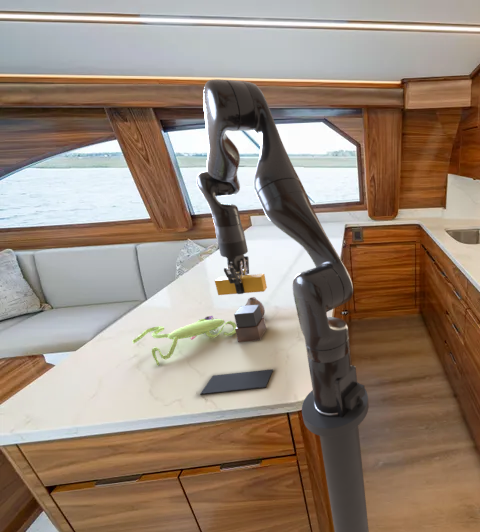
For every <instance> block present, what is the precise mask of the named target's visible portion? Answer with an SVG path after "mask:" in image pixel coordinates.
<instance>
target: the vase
mask: <svg viewBox="0 0 480 532" xmlns="http://www.w3.org/2000/svg"><path fill="white" fill-rule="evenodd" d="M248 305H259V306H260V311H261V316H262V317H264V316H265V306H264V304H263V303H262V302H261V301H260V300H259V299H257V298H256V297H255V296H251V297H248V298H247V301H246V303H245V305H244V306H248Z"/></svg>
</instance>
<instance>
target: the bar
mask: <svg viewBox="0 0 480 532" xmlns="http://www.w3.org/2000/svg"><path fill="white" fill-rule="evenodd" d="M238 278H239V276H238ZM266 280H267V279H266V275H265V273H257V274H247V275H242V282H243V287H244V291H245V292H244V293H243V294H250V293H262V292H263V293H264V292H265V291H266V290H267V288H268V286H267V281H266ZM214 285H215V288H216V292H217V295H218V296H226V295H238V294H237V292H236V288H235V284H234V283H232V284H230V282H229V280H228V278H227V276H219V277H217V278H216V279H214Z"/></svg>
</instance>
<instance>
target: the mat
mask: <svg viewBox="0 0 480 532" xmlns="http://www.w3.org/2000/svg"><path fill="white" fill-rule="evenodd" d="M273 372H274V369H273V368H271V369H261V370H253V371H241V372H231V373H224V374H213V375H212V376H211V377H210V379H209V381H208V382H207V383H206V385H205V386H204V388H203V389H202V390H201V392H200V393H199V394H200V396H203V395H213V394H220V393H221V394H222V393H230V392H239V391H247V390H248V391H250V390H257V389H265V388H267V386H268V383H269V381H270V379H271V376H272V374H273Z"/></svg>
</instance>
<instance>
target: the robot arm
mask: <svg viewBox="0 0 480 532" xmlns="http://www.w3.org/2000/svg"><path fill="white" fill-rule="evenodd" d="M202 93H203V95H202V96H203V97H202V99H203V112H204V121H205V130H206V137H207V146H208V150H207V157H206V158H207V160H206V170H205V171H201V172H199V173H198V174H197V175H196V181H195V182H196V186H197V188H198V190H199V191H200V193H201V194H202V195H201V196H203V199H205V201H206V203H207V205H208V208H209V211H210V213H211V216H212V220H213V223H214V225H213V226H214V230H215V236H216V242H217V245H218V249H219V253H220V256H221V257H222V258H226V263H227V267H224V268H223V272H224V274H225V277H227V278H228V280H229V282H230V284H232V283H234V284H235V288H236V292H237V294H236V295H243V294H245V293H244V292H245V291H244V287H243V282H242V275H250V261H249V255H246V254H247V253H248V252H249V249H248V245H247V240H246V236H245V230H244V228H243V225H242V219H241V216H240V212H239V208H238V206H237V205H236V204H233V203H222V202H220V201H219V200H218V199H217V197H230V196H235V195H237V194H238V193H239V192H240V190H241V184H240V180H239V177H238V171H239V167H240V162H241V156H240V155H241V154H240V152H239V148H237V146H236V145H235V143H234V142H233V141H232V140H231V139H230V137H229V136H228V135H227V134H226V132H227V131H231V132H239V131H241V132H242V131H246V132H247V131H251V132H252V131H253V132H254V133H255V135H256V137H257V139H258V143H259V146H260V147H259V156H258V160H257V164H256V168H255V173H254V178H253V188H254V193H255V195H256V197H257V199H258V201H259V203H260V206H261V207H262V210H263V212H264V214H265V216H266V217H267V219H268V220H269V221H270V222H271V223H272V224H273V225H274V226H275V227H276V228H278V229H279V230H280V231H281V232H282V233H284V234H285V235H287V236H288V237H289V238H291V239H292V240H293V241H295V242H296V243H298V244H299V245H300V246H301V248H303V249H304V251H306V253H307V254H308V256H309V257H310V259H311V261H312V262H313V264H314V266H315V267H313V268H309V269H307V270H305V271H301V272H299V273H297V274H296V275H295V276H294V278H293V281H292V295H293V300H294V305H295V308H296V311H297V312H296V313H297V317H298V323H299V326H300V327H299V328H300V330H301V333H302V335H303V337H304V343H305V349H306V356H307V363H308V368H309V376H310V383H311V388H312V389H311V390H313V395H314V404H315V409H316V411H317V412H318V413H319V414H320V415H322V416H325V417H336V416H339V417H344V416H345V415H346V413H347V412H348V411H349V410H350V409H351V410H352V408H353V407H354V406H355V405H356V404H357V403H358V402H360V404H358V405H357V407H358V408H360V407H361V406H362V405H363V400H362V399H361V398H362V397H363V396H364V395H365V389H366V388H365V385H364V384H361V383H360V382H358V377H357V367H356V365H354V364H353V363H352V362H353V361H352V352H351V341H350V331H349V325H348V324H347V321H345V320H344V319H342V318H339V317H334V316H328V312H330V311H332V310H334V309H336V308H338V307H341V306H342V305H345V304H346V303H348V302H350V301H351V299H352V298H353V296H354V285H353V282H352V281H353V280H352V278H351V275H350V273H349V271H348V269H347V267H346V266H345V264H344V262H343V260H342V259H341V257H340V256H339V254H338V252H337V250H336V249H335V248H334V246H333V244H332V242H331V241H330V239H329V237H328V235H327V234H326V232H325V229H324V228H323V226H322V224H321V222H320V220H319V218H318V216H317V214H316V212H315V209H314V208H313V205H312V203H311V200H310V198H309V196H308V194H307V192H306V189H305V187H304V185H303V183H302V181H301V179H300V177H299V175H298V173H297V171H296V169H295V167H294V166H293V163H292V161H291V159H290V157H289V155H288V153H287V151H286V148H285V146H284V144H283V141H282V139H281V136H280V134H279V131H278V128H277V124H276V122H275V119H274V117H273V114H272V111H271V109H270V106H269V104H268V101H267V99H266V97H265V95H264V93H263V91H262V89H260V87H259V86H258V85H257V84H256V83H253V82H250V81H244V80H243V81H242V80H231V79H215V78H214V79H209V80H208V81H206V82H205V84H204V87H203V92H202ZM238 276H239V278H238ZM357 382H358V383H357Z"/></svg>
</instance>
